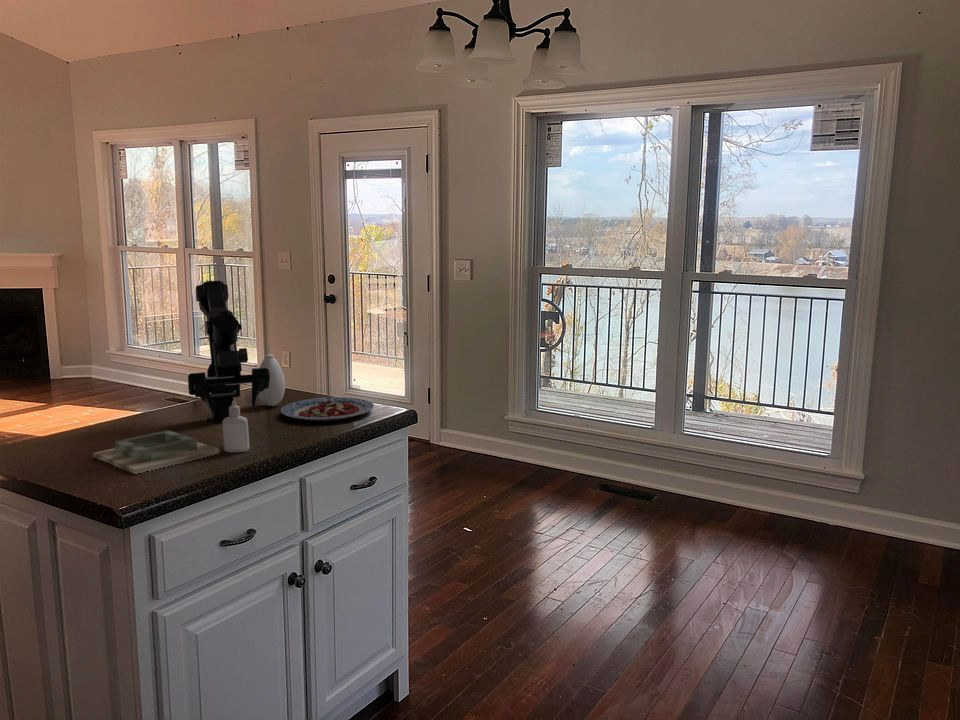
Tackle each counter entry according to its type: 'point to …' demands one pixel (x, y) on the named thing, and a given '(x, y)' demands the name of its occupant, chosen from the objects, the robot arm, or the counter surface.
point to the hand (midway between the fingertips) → (233, 410)
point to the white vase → (273, 381)
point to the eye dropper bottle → (235, 431)
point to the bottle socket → (155, 451)
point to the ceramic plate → (327, 408)
